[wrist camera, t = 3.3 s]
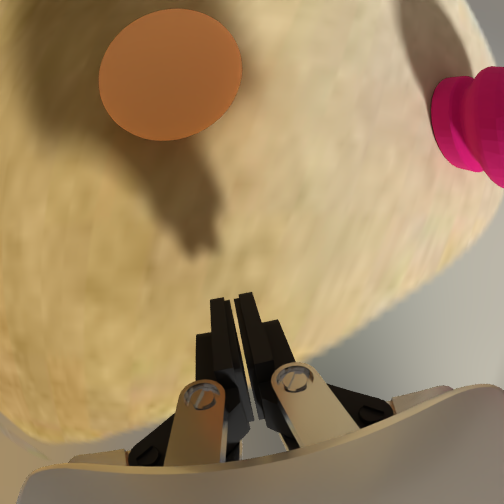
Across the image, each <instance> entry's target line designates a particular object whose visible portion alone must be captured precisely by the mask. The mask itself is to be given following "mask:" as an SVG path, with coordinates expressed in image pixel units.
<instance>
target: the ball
mask: <svg viewBox="0 0 504 504" xmlns="http://www.w3.org/2000/svg"><path fill="white" fill-rule="evenodd" d="M241 77H242V60H241V56H240V51H239V48H238V46H237V43H236V41H235V40H234V38H233V36H232V35H231V34H230V33H229V31H228V30H227V29H226V28H225V27H224V26H223V25H222V24H221V23H220V22H218V21H217V20H215V19H214V18H212V17H210V16H208V15H206V14H203V13H200V12H197V11H193V10H188V9H166V10H160V11H156V12H152V13H150V14H147V15H145V16H142V17H140V18H139V19H137V20H135V21H133V22H132V23H130V24H129V25H128V26H126V27H125V28H124V29H123V30H122V31H121V32H120V33H119V34H118V35H117V36H116V37H115V38H114V40H113V41H112V42H111V44H110V45H109V47H108V49H107V50H106V52H105V54H104V57H103V59H102V62H101V66H100V70H99V92H100V97H101V100H102V103H103V105H104V107H105V109H106V111H107V112H108V114H109V115H110V116H111V118H112V119H113V120H114V121H115V122H116V123H117V124H118V125H119V126H120V127H122V128H123V129H124V130H126V131H128V132H130V133H132V134H134V135H136V136H139V137H141V138H145V139H149V140H157V141H170V140H177V139H182V138H185V137H189V136H191V135H194V134H196V133H198V132H200V131H202V130H204V129H206V128H207V127H209V126H210V125H212V124H213V123H214V122H216V121H217V120H218V119H219V118H220V117H221V116H222V115H223V114H224V113H225V112H226V111H227V109H228V108H229V106H230V105H231V104H232V102H233V100H234V98H235V96H236V94H237V91H238V89H239V86H240V82H241Z"/></svg>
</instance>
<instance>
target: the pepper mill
mask: <svg viewBox="0 0 504 504" xmlns="http://www.w3.org/2000/svg"><path fill="white" fill-rule="evenodd" d="M431 117H432V126H433V131H434V135H435V138H436V141H437V143H438V146H439V148H440V150H441V152H442V153H443V155H444V157H445V158H446V159H447V160H448V161H449V162H450V163H451V164H452V165H454V166H456V167H458V168H461V169H465V170H470V171H473V172H482V171H484V172H485V173H486V174H487V175H488V177H489V178H490V179H491V180H492V181H493V182H494V183H496V184H497V185H498V186H500V187H502V188H504V67H494V66H491V67H487V68H485V69H483V70H481V71H480V72H479V73H478V74H477V76H476V77H475V79H473V78H472V77H469V76H460V77H450V78H445V79H443V80H442V81H441V82H440V83H439V84H438V85H437V87H436V89H435V90H434V94H433V98H432V105H431Z"/></svg>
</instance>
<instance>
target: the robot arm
mask: <svg viewBox="0 0 504 504" xmlns="http://www.w3.org/2000/svg"><path fill="white" fill-rule="evenodd" d="M234 302H235V308H236V313H237V318H238V323H239V329H240V334H241V339H242V344H243V349H244V354H245V359H246V364H247V368H248V373H249V378H250V382H251V387H252V391H253V395H254V400H255V404H256V408H257V413H258V417H259V420H260V419H265V421H266V425H267V427H268V428H270V429H272V430H274V431H277V432H279V436H280V438H281V440H282V443H283V445H284V447H285V449H286V450H287V451H286V452H282V453H277V454H273V455H268V456H263V457H257V458H251V459H246V460H242V450H243V447H242V446H243V443H242V438H243V437H244V436H245V435H246V434H247V433H248V432H249V430H250V426H249V422H251V421H254V416H253V412H252V407H251V402H250V397H249V392H248V387H247V382H246V376H245V371H244V366H243V361H242V356H241V351H240V346H239V342H238V337H237V332H236V328H235V323H234V318H233V314H232V309H231V304H230V300H226V301H224V297H222V298H217V299H211V300H210V312H211V332H209V333H203V334H197V335H196V381H195V382H192V383H190V384H188V385H187V386H185V388H184V389H183V390H182V391H181V393H180V395H179V399H178V403H177V407H176V412H175V413H174V414H173V415H172V416H171V417H169V418H168V419H167V420H166V421H165V422H163V423H162V424H161V425H160V426H159V427H157V428H156V429H155V430H154V431H153V432H151V433H150V434H149V435H148V436H146V437H145V438H144V439H143V440H141V441H140V442H139V443H137V444H136V445H135V446H134V447H133V448H132V449H131V450H130V451H126V450H125V449H120V450H114V451H108V452H100V453H93V454H84V455H78V456H75V457H73V458H72V459H71V460H70V461H69V462H68V463H63V464H54V465H50V466H45V467H42V468H39V469H37V470H35V471H33V472H31V473H30V474H29V475H28V477H27V478H26V480H25V481H24V483H23V485H22V487H21V490H20V493H19V496H18V500H17V503H16V504H504V390H502V389H501V388H499V387H497V386H495V385H491V384H475V385H470V386H464V387H461V388H456V389H452V388H451V387H449V386H444V385H443V386H436V387H433V388H429V389H425V390H422V391H418V392H414V393H410V394H406V395H401V396H397V397H392V398H391V401H384V400H381V399H379V398H375V397H371V396H368V395H364V394H360V393H357V392H353V391H350V390H346V389H343V388H340V387H336V386H333V385H330V384H327V383H325V381H324V380H323V379H322V377H321V376H320V375H319V373H318V372H317V371H316V370H315V369H314V368H313V367H312V366H310V365H308V364H306V363H301V362H295V359H294V357H293V354H292V352H291V349H290V347H289V345H288V342H287V340H286V337H285V335H284V332H283V330H282V327H281V325H280V323H279V321H278V319H277V320H273V321H268V322H263V323H262V322H261V319H260V316H259V313H258V309H257V306H256V303H255V300H254V297H253V293H252V292H249V293H244V294H239V298H237V299H234Z"/></svg>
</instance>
